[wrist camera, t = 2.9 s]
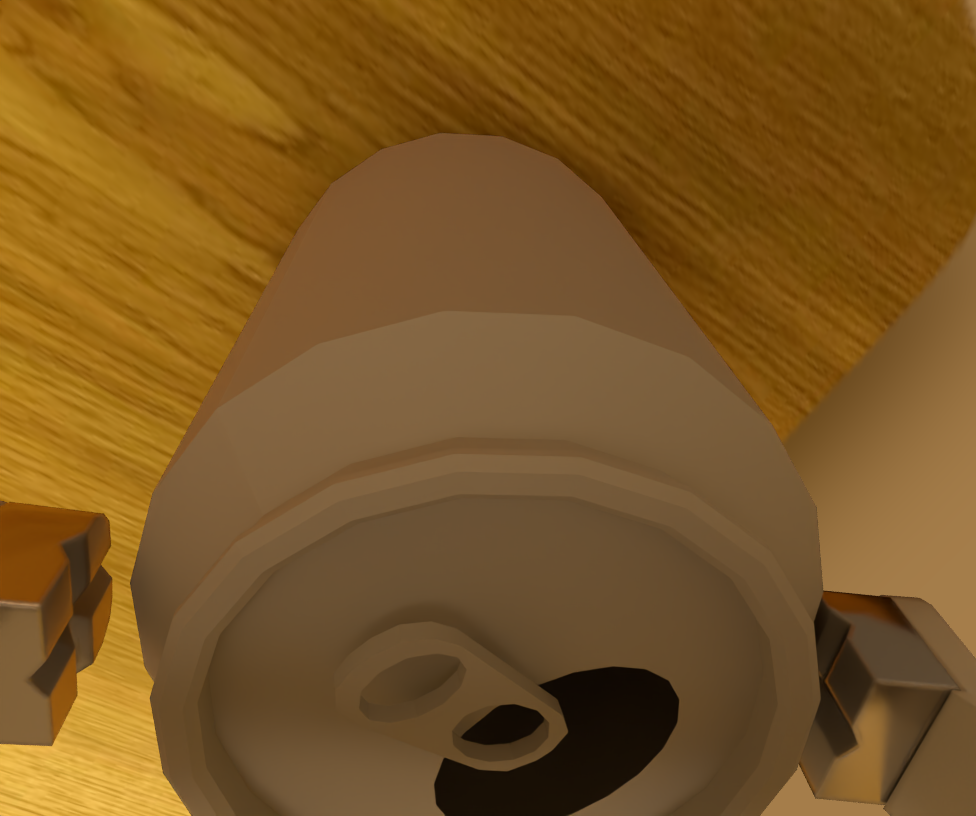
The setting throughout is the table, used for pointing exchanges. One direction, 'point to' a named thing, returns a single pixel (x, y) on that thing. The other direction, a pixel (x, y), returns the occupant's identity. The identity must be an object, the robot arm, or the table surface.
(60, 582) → the robot arm
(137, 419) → the table surface
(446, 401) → the can
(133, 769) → the table surface
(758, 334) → the table surface
